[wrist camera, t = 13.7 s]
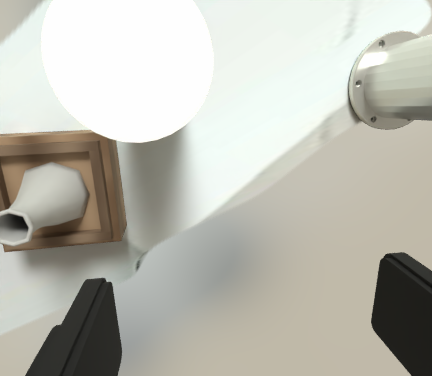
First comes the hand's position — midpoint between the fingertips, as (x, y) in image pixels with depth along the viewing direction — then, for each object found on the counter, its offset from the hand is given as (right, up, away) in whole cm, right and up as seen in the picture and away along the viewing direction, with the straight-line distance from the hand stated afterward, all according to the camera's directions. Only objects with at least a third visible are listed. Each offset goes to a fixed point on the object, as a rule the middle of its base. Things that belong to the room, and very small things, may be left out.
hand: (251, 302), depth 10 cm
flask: (-19, +3, +23) cm, 30 cm away
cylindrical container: (-9, +16, +27) cm, 32 cm away
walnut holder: (-20, +5, +28) cm, 35 cm away
